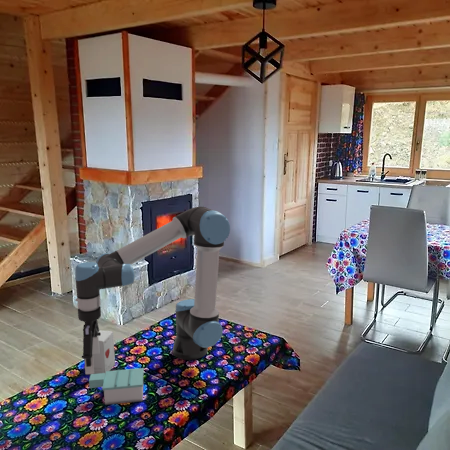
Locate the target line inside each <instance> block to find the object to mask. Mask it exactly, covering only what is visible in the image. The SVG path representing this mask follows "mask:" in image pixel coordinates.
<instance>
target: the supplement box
mask: <svg viewBox="0 0 450 450" xmlns="http://www.w3.org/2000/svg"><path fill="white" fill-rule="evenodd" d="M99 332H100V333H101V335H100V336H99V352H100V353H99V354H92V355H93V362H94V374H99V373H105V374H106V371H112V369H113V368H114V366H115V365H116V355H115V341H114V331H111V330H101V329H99ZM99 332H98V333H99ZM83 360H84V362H85V359H83Z"/></svg>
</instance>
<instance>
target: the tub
mask: <svg viewBox="0 0 450 450" xmlns="http://www.w3.org/2000/svg"><path fill="white" fill-rule="evenodd" d="M103 395H104V405H105V406H107V405H115V404H126V403H134V402H135V403H136V402H143V399H144V386H143V387H134V388H123V389H113V390H103Z"/></svg>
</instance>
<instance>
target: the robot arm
mask: <svg viewBox="0 0 450 450" xmlns="http://www.w3.org/2000/svg"><path fill="white" fill-rule="evenodd" d="M230 232H231V224H230V221H229V218H227V217H226V215H224V214H223V213H221V212H220V211H218V210H213V209H211V208H208V207H204V206H195V207H191V208H190V209H187V210H185V211H183V212H181V213H180V214H177V215H175V216H174V217H172V220H171V221H170V222H167V223H165V224H164V225H162V226H160V227H158V228H156V229H154V230H152V231H151V232H149V233H147V234H145V235H143V236H141V237H139V238H137V239H136V240H134V241H132V242H130V243H128V244H125V245H124V246H122V247H120V248H118V249H117V250H115V251H113V252H111V253H107V252H105V253H102V254H100V255H98V256H97V257H96V261H95V262H93V261H90V262H89V261H85V262H81V263H78V264H77V265H76V266H75V269H74V270H75V273H74V275H75V276H74V277H75V278H74V279H75V293H76V298H75V302H77V303H76V304H77V308H78V309H77V316H78V317H77V318H78V320H79V321H81V322H84V324H83V328H82V331H83V335H82V337H83V338H82V345H83V346H82V355H81V358H82V359H83V360H84V359H85V361H84V371H85V372H84V373H85V375H91V374H94V362H93V355H92V354H99V353H100V352H99V336H100V335H101V333H100V332H99V330H100V328H99V322H98V321H99V319H100V318H101V316H102V311H101V310H102V309H101V308H102V307H101V305H102V304H101V303H102V302H101V293H100V291H101V290H105V289H112V288H117V287H125V286H128V285H132V284H133V283H134V282H135V271H134V270H135V269H134V267H133V265H134V264H135V263H137V262H139V261H140V260H142V259H144V258H146V257H149V256H150V255H152V254H154V253H155V252H157V251H160V250H161V249H163V248H164V247H166V246H168V245H170V244H173V243H174V242H175V241H177V240H179V239H181V238H182V239H186V238H188V237H190V236H193V245H194V246H195V247H196V249H197V252H196V266H195V267H196V269H195V284H194V298H190V299H184V300H180V301H178V302H177V303H176V304H175V311H174V312H175V328H176V336H175V338H174V339H175V340H174V342H173V346H172V353H173V355H174V357H176V358H177V359H180V360H184V361H185V360H186V361H193V360H198V359H201V358H203V357H205V356H206V355H207V354H208V353H209V352H208V351H209V349H208V348H211V347H213V346H215V345H216V344H217V343H218V342H219V341H220V340H221V338H222V336H223V333H224V332H223V331H224V330H223V327H222V324H221V323H220V322H219V319H220V317H219V316H220V311H219V309H218V308H217V307H216V305H217V293H218V292H217V291H218V290H217V289H218V279H219V278H218V277H219V262H220V260H219V259H220V251H221V249H222V248H224V246H225V241H226V239H228V238H229V236H230ZM98 332H99V333H98Z"/></svg>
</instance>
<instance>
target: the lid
mask: <svg viewBox="0 0 450 450" xmlns="http://www.w3.org/2000/svg"><path fill="white" fill-rule="evenodd" d="M144 369H145V368H144V367H142V368H141V367H139V368H132V367H131V368H129V369H117V370H110V371H106V374H105V373H99V374H89V379H88V386H89V389H92V388H93V389H94V388H95V389H96V388H102V391H104V390H113V389H123V388H134V387H143V388H144V374H145V373H144Z"/></svg>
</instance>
